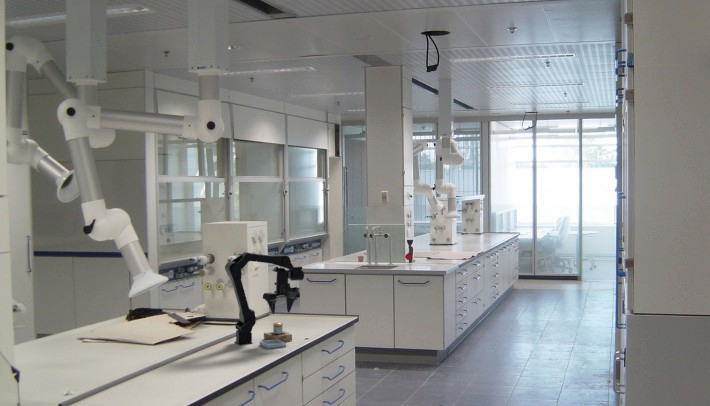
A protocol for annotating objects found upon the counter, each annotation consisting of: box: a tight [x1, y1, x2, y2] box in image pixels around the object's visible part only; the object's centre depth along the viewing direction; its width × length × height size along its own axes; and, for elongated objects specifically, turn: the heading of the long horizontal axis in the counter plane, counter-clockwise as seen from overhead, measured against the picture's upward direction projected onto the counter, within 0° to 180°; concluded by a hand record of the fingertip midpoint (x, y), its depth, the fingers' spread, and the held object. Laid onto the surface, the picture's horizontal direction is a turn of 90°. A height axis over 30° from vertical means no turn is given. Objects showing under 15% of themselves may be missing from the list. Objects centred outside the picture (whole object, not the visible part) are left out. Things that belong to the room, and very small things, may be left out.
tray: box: [259, 339, 287, 350], centre depth 339 cm, size 9×9×2 cm
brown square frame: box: [263, 330, 293, 343], centre depth 352 cm, size 10×10×3 cm
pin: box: [272, 322, 284, 335], centre depth 352 cm, size 5×5×8 cm
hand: (281, 313), depth 353 cm, fingers open, 9 cm apart
